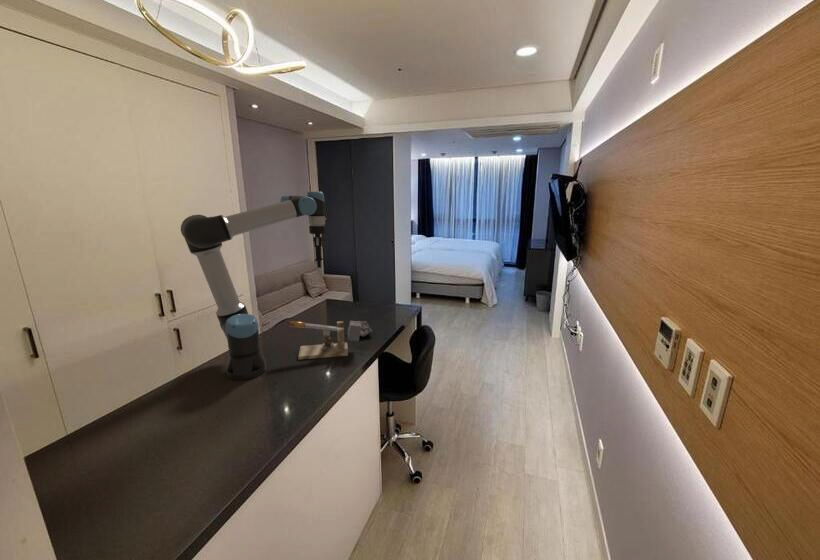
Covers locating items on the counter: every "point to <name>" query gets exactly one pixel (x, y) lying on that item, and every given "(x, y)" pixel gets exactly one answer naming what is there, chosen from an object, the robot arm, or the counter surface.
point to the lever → (332, 328)
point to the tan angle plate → (326, 347)
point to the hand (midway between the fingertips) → (319, 273)
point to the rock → (364, 328)
